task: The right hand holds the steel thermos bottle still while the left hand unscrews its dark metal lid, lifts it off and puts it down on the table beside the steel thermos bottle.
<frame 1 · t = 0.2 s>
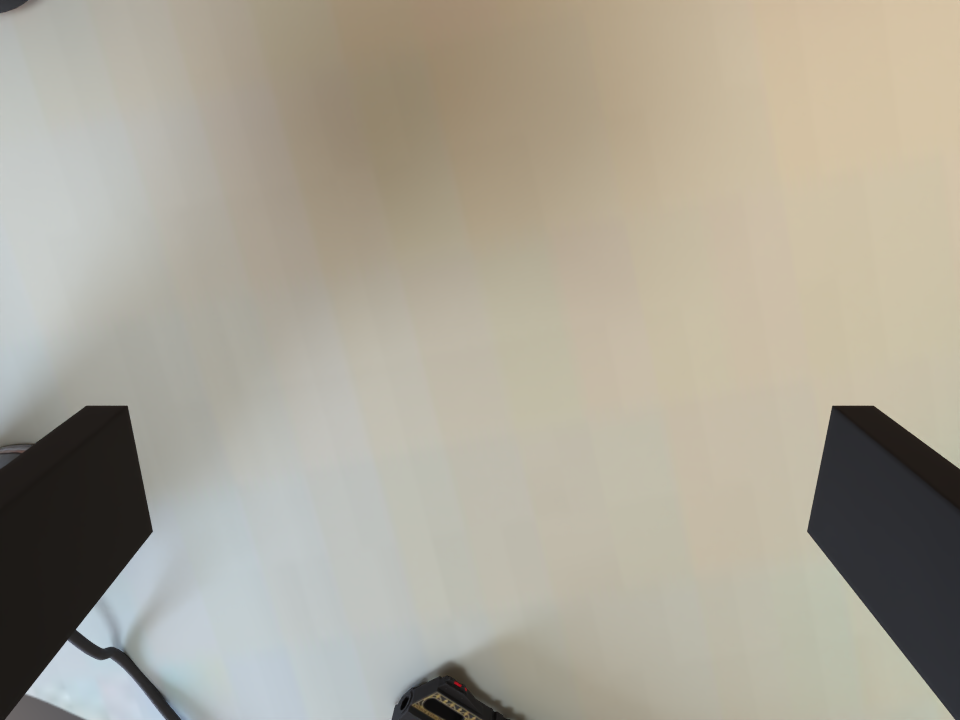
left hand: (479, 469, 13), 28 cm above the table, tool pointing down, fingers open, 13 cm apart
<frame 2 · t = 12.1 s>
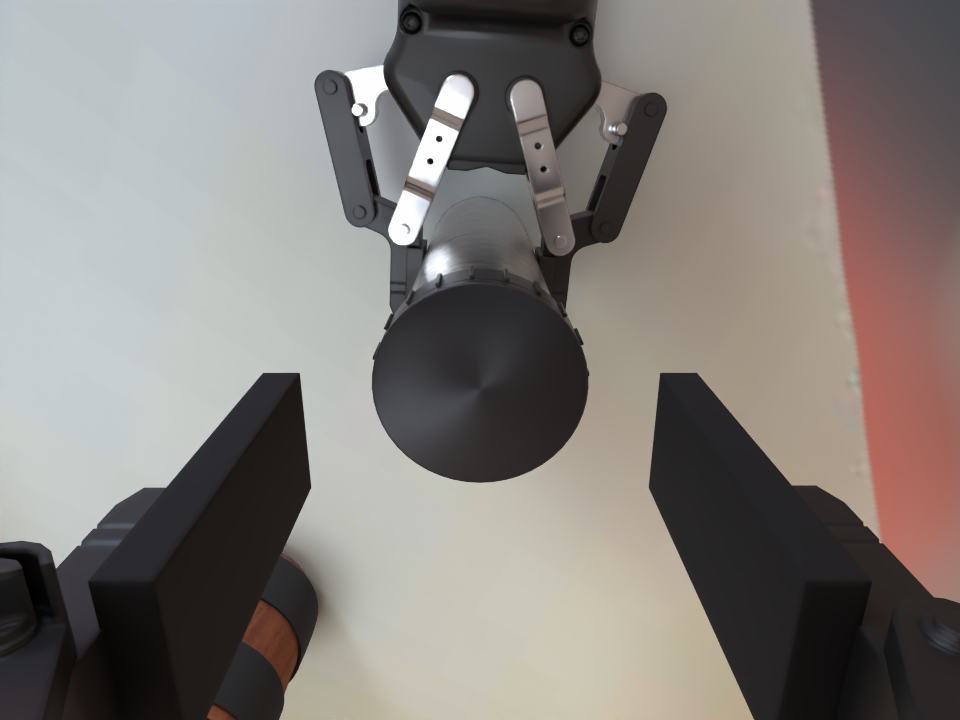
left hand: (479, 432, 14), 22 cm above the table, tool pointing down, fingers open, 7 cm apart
right hand: (475, 327, 30), fingers closed on steel thermos bottle, 5 cm apart
mug: (245, 570, 42), on the table
steel thermos bottle: (479, 244, 35), on the table, touching right hand
lid: (480, 383, 17), point 19 cm above the table, screwed on, not yet turned
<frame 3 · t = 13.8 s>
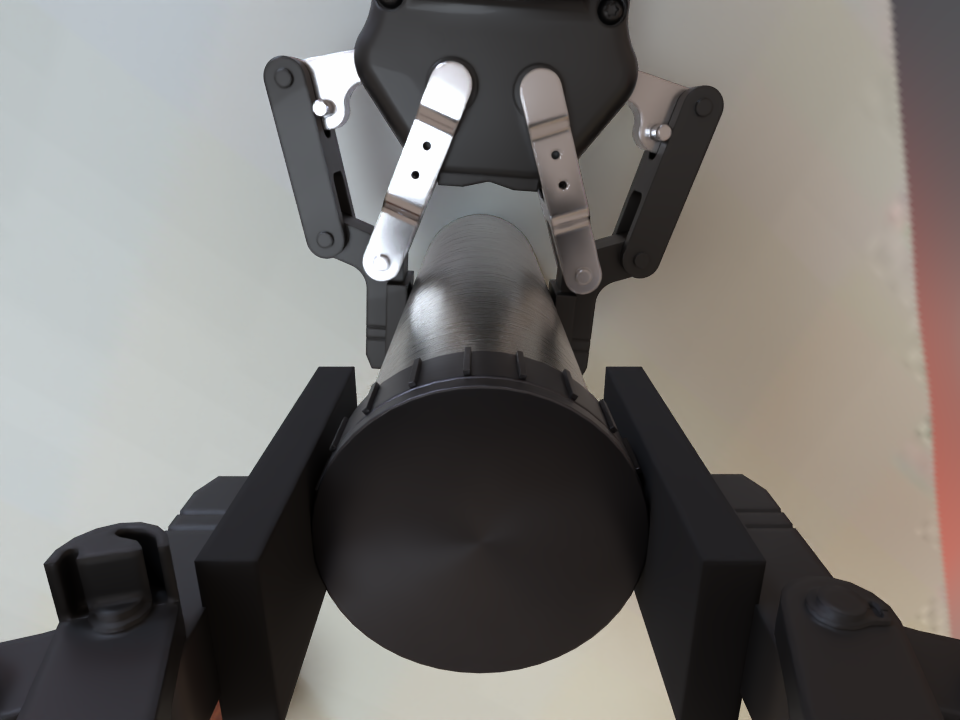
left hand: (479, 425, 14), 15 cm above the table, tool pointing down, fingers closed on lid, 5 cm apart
steel thermos bottle: (480, 271, 29), on the table, touching right hand
lid: (480, 529, 11), point 19 cm above the table, screwed on, not yet turned, touching left hand
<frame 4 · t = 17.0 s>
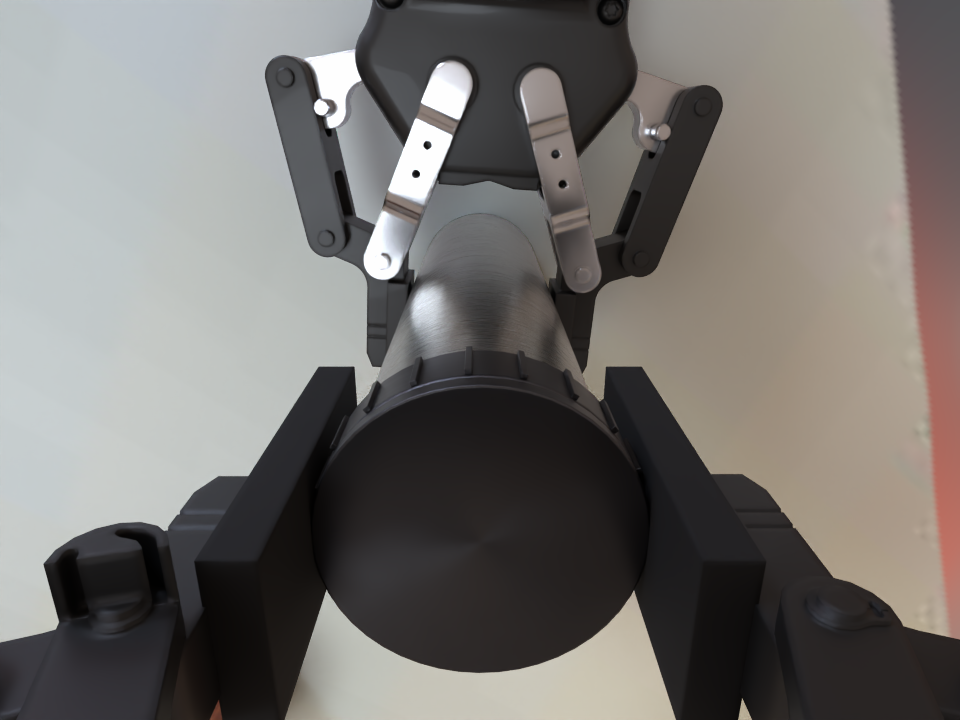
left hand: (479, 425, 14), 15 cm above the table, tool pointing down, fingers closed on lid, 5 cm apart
steel thermos bottle: (480, 270, 29), on the table, touching right hand
lid: (480, 529, 11), point 19 cm above the table, turned 90° so far, risen 0.1 cm, still on its thread, touching left hand
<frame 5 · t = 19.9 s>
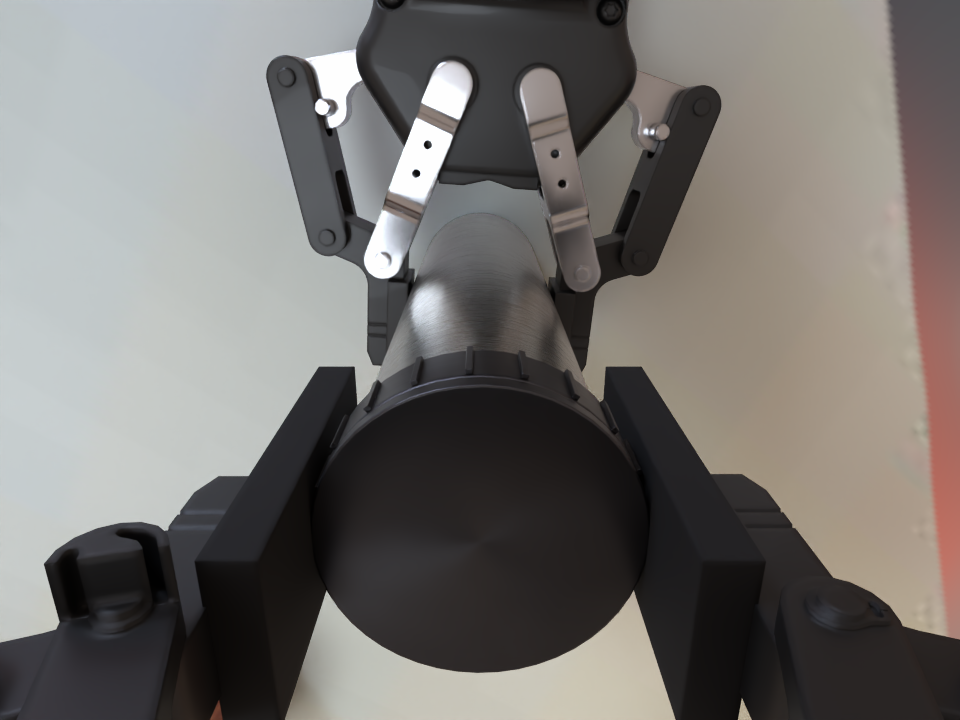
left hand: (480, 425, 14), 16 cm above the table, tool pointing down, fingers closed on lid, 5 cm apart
steel thermos bottle: (480, 269, 29), on the table, touching right hand
lid: (480, 529, 11), point 19 cm above the table, turned 179° so far, risen 0.2 cm, still on its thread, touching left hand
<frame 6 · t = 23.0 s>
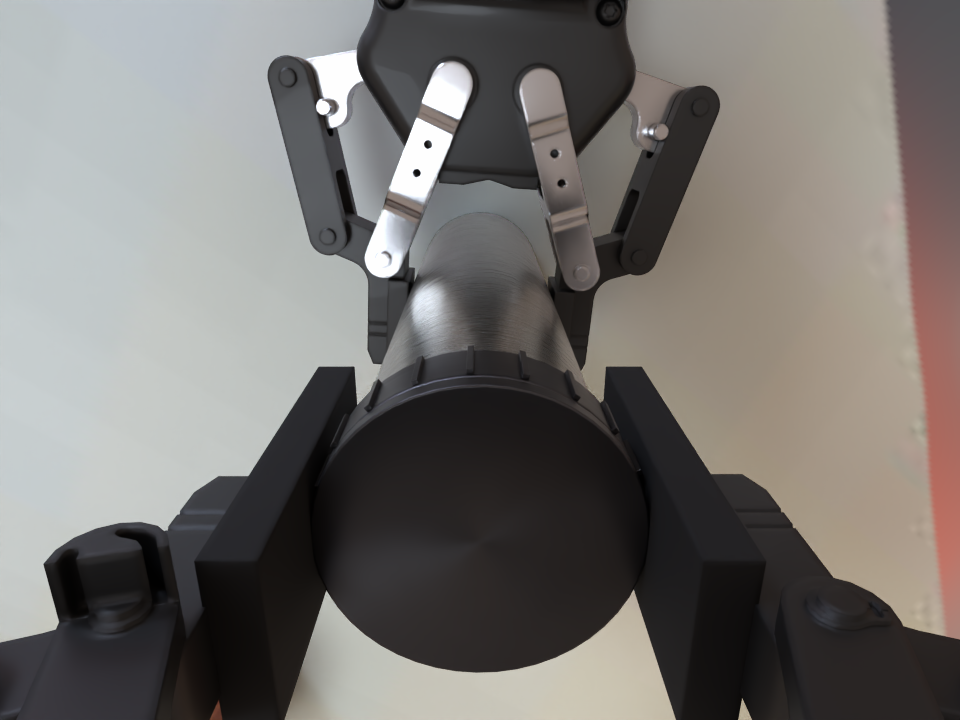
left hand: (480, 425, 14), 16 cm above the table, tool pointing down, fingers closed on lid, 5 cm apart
steel thermos bottle: (479, 268, 29), on the table, touching right hand
lid: (479, 529, 11), point 20 cm above the table, turned 269° so far, risen 0.4 cm, still on its thread, touching left hand
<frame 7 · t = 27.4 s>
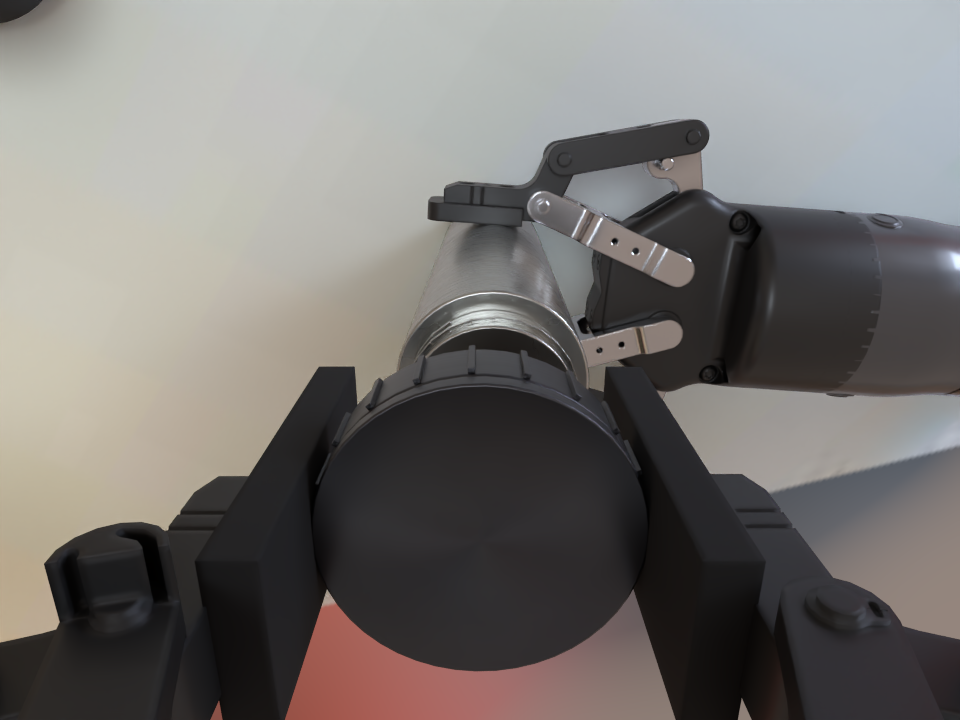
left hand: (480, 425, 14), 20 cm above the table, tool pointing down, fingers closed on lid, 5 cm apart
right hand: (428, 274, 27), fingers closed on steel thermos bottle, 5 cm apart
steel thermos bottle: (491, 251, 33), on the table, touching right hand
lid: (480, 528, 11), point 24 cm above the table, off its thread, touching left hand
when the left hand's fingers open (0 cm above the table, at t = 34.7 s): lid drops 3 cm, point 1 cm above the table.
when the right hand's fingers open (6 cm above the table, at t = 35.3 s): steel thermos bottle stays where it is, on the table.
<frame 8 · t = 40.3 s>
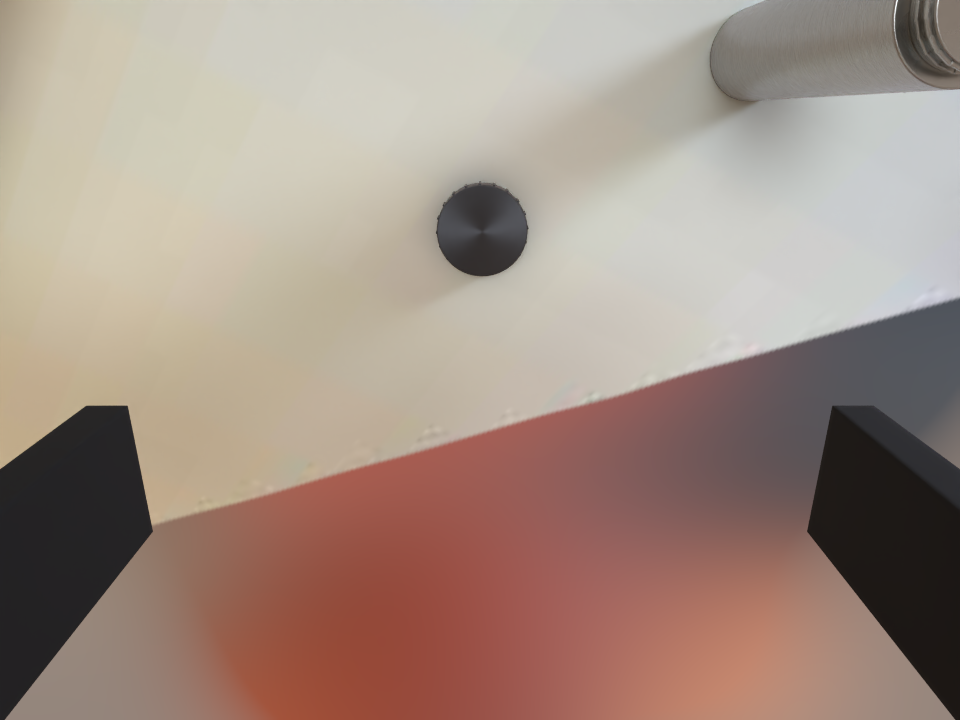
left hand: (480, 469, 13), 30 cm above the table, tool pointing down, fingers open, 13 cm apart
steel thermos bottle: (753, 54, 37), on the table
lid: (482, 230, 40), point 1 cm above the table, off its thread
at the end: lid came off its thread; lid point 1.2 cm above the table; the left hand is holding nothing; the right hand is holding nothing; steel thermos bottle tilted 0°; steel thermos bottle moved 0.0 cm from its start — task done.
